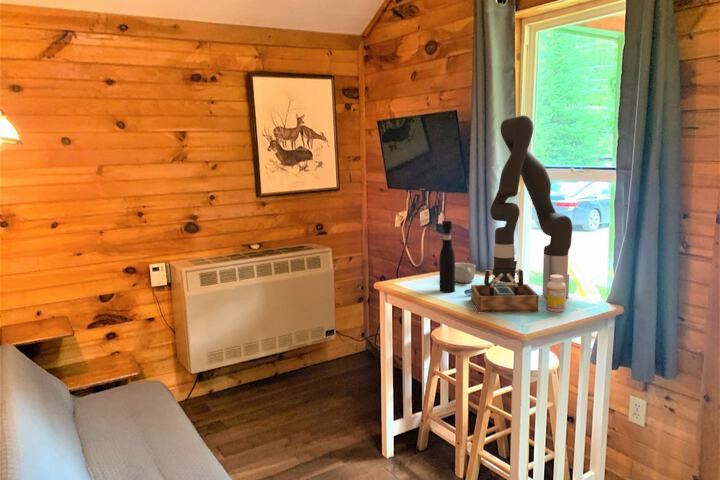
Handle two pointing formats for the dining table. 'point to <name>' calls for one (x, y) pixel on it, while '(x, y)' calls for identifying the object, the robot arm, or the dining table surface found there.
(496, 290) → the teal tote
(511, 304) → the walnut crate
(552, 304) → the supplement bottle
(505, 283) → the dixie cup
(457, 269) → the teacup
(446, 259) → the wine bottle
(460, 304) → the dining table surface
